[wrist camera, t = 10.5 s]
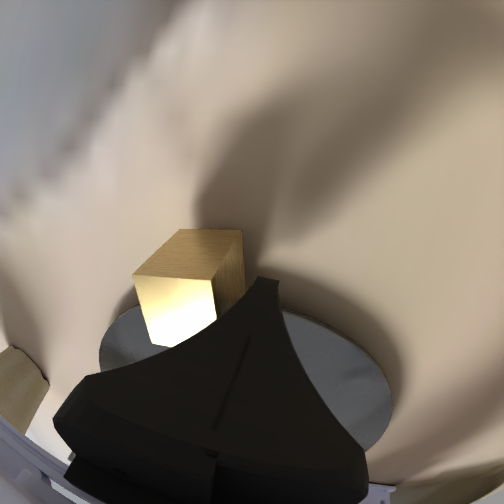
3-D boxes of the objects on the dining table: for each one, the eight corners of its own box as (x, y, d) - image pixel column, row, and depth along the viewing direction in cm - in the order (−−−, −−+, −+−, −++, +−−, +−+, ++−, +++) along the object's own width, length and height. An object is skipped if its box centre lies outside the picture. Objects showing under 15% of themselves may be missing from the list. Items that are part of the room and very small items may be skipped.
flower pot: (-9, 315, 20) (-59, 364, 13) (51, 363, 20) (-2, 429, 12) (13, 369, 25) (-24, 413, 17) (68, 410, 24) (32, 464, 17)
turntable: (451, 238, 9) (494, 288, 6) (354, 475, 18) (352, 510, 15) (49, 229, 13) (1, 260, 9) (149, 446, 21) (135, 475, 18)
